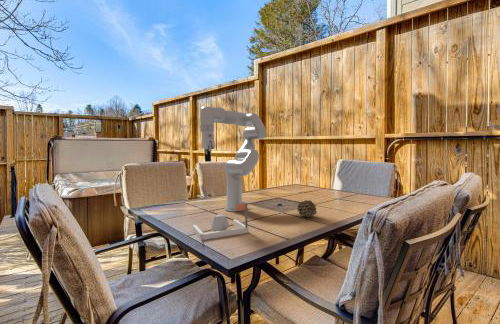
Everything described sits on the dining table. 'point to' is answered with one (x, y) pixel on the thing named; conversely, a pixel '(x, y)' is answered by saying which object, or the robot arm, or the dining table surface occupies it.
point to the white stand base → (229, 232)
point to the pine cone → (306, 208)
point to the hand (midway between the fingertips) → (207, 161)
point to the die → (219, 223)
